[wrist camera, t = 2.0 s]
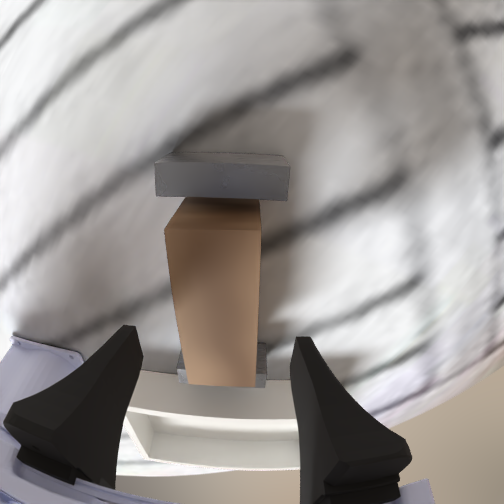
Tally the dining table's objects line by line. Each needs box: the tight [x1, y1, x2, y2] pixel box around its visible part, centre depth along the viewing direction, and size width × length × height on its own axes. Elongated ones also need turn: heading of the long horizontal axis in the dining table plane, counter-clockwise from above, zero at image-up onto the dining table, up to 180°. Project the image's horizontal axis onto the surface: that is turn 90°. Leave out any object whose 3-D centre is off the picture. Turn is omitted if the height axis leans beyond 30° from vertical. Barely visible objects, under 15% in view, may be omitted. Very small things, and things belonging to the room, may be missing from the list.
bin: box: [123, 370, 300, 470], centre depth 24 cm, size 18×12×4 cm, turn 87°
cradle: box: [155, 152, 290, 388], centre depth 17 cm, size 6×15×3 cm, turn 177°
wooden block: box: [164, 197, 261, 387], centre depth 17 cm, size 4×10×5 cm, turn 179°
